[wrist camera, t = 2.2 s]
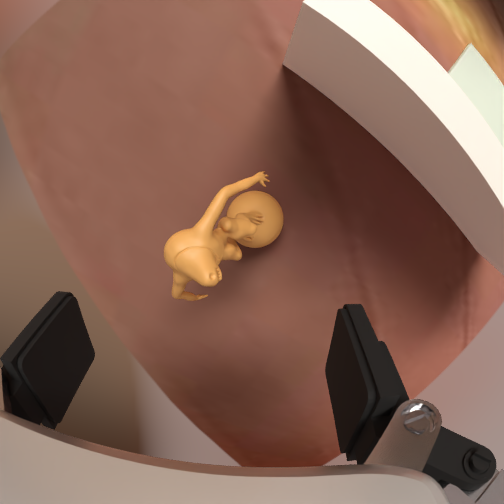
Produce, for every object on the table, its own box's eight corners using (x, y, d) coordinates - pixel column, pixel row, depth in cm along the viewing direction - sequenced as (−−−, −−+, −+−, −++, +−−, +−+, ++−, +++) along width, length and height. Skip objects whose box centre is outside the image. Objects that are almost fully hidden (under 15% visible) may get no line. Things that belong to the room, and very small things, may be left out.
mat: (526, 127, 18) (529, 127, 18) (478, 200, 22) (480, 202, 21) (468, 43, 16) (471, 43, 15) (411, 119, 20) (413, 119, 19)
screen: (486, 239, 23) (571, 315, 11) (476, 251, 24) (558, 332, 12) (295, 48, 18) (331, -27, 6) (282, 64, 19) (303, 2, 7)
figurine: (253, 264, 25) (244, 375, 15) (186, 232, 24) (131, 327, 14) (305, 175, 22) (343, 239, 11) (232, 137, 21) (195, 163, 10)
